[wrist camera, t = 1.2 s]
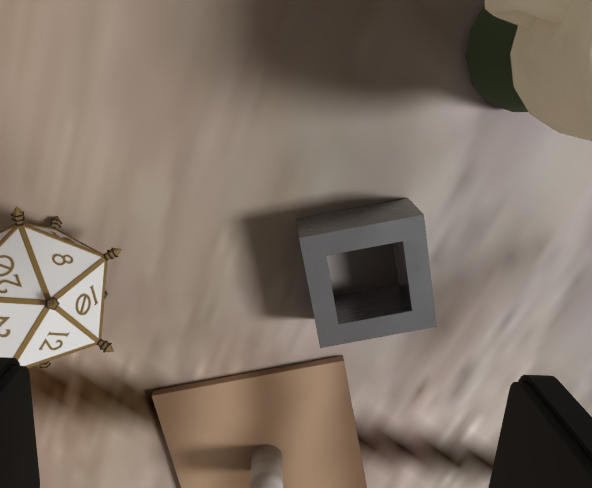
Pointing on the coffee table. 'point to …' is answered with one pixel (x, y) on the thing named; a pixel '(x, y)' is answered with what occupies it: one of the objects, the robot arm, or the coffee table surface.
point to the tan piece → (264, 429)
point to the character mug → (536, 60)
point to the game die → (49, 293)
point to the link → (375, 303)
